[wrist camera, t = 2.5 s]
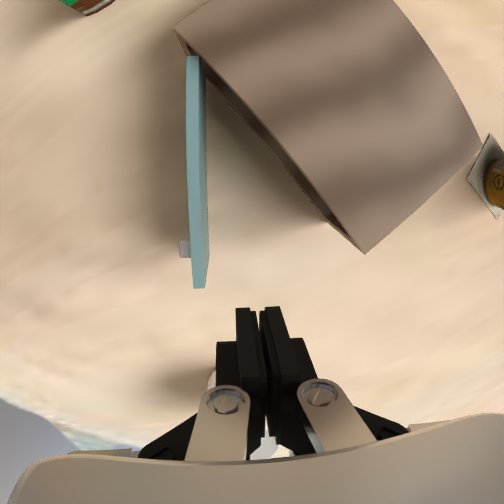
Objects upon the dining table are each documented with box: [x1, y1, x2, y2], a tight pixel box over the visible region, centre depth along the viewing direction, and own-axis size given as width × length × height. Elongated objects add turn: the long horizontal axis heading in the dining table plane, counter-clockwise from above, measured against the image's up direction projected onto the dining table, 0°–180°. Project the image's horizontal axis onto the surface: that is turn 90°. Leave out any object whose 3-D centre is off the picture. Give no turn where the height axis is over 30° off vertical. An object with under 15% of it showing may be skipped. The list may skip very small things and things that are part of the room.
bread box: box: [173, 0, 483, 255], centre depth 21 cm, size 20×14×9 cm
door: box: [179, 56, 209, 289], centre depth 23 cm, size 16×2×7 cm, turn 0°
